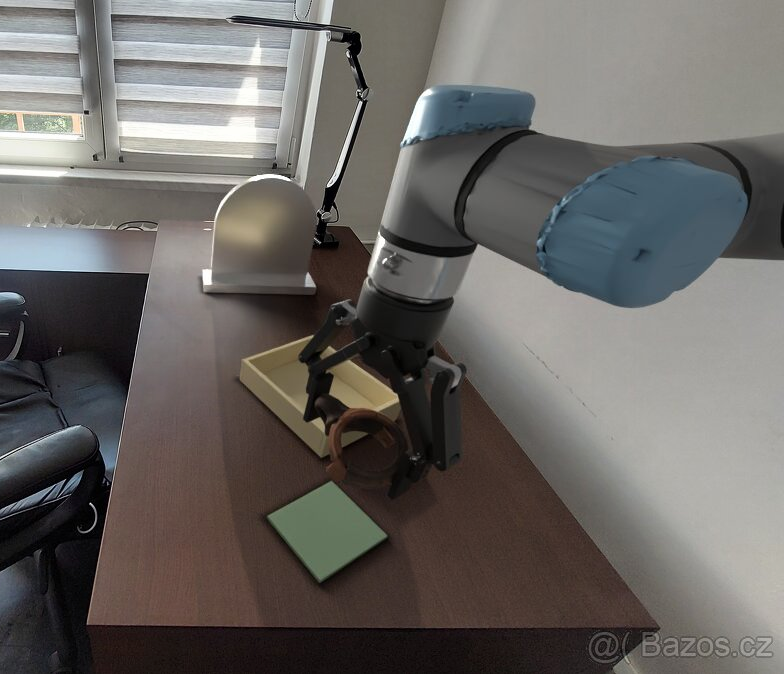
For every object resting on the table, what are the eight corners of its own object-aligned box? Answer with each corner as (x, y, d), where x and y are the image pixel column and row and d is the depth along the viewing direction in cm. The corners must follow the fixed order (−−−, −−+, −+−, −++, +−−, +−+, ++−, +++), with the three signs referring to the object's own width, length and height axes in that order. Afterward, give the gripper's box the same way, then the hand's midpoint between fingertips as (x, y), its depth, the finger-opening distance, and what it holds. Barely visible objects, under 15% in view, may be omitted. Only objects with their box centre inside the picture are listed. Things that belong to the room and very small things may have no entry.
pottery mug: (414, 460, 53) (437, 443, 46) (359, 517, 52) (374, 508, 44) (334, 389, 59) (343, 364, 51) (281, 439, 57) (283, 420, 50)
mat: (386, 538, 60) (387, 535, 59) (319, 583, 55) (320, 580, 54) (330, 483, 67) (331, 480, 67) (266, 518, 62) (267, 515, 61)
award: (306, 278, 122) (327, 172, 107) (314, 294, 115) (338, 183, 100) (202, 276, 122) (208, 169, 106) (203, 292, 114) (210, 179, 99)
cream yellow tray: (396, 419, 78) (404, 398, 76) (321, 458, 71) (327, 436, 68) (308, 354, 94) (313, 334, 91) (239, 379, 86) (242, 359, 83)
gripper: (286, 243, 47) (260, 399, 59) (528, 373, 30) (422, 555, 42) (338, 232, 51) (303, 382, 63) (583, 343, 33) (470, 520, 46)
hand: (351, 452), depth 53 cm, fingers closed on pottery mug, 12 cm apart
